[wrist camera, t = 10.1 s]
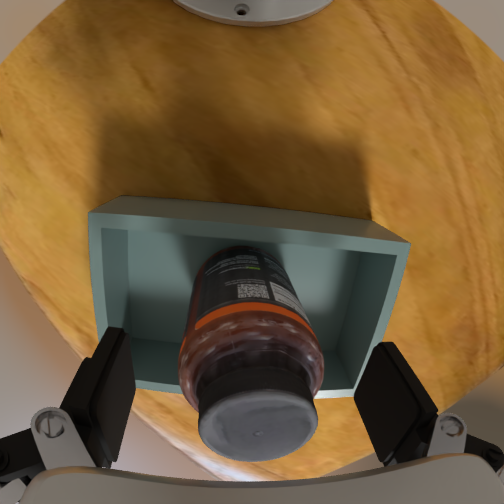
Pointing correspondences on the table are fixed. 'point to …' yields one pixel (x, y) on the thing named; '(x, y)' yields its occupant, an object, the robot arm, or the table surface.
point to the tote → (229, 235)
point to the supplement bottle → (249, 358)
